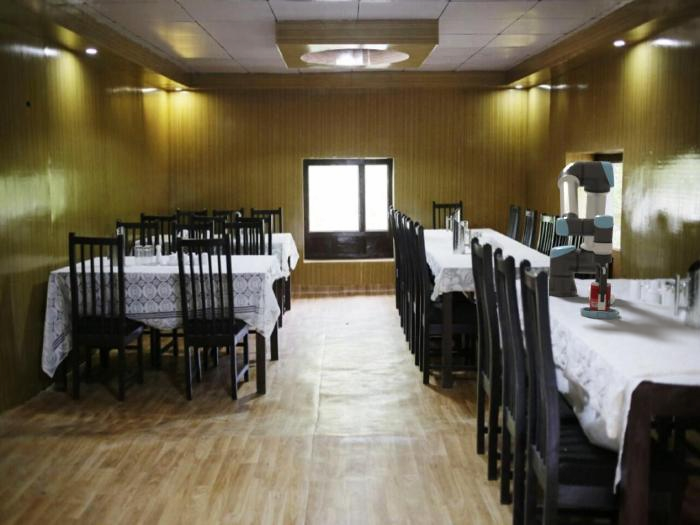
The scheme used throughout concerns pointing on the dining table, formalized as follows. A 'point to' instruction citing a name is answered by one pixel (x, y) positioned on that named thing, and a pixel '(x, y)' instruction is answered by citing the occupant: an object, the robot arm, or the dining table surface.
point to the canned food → (594, 296)
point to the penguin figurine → (610, 298)
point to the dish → (599, 313)
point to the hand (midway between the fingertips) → (599, 307)
